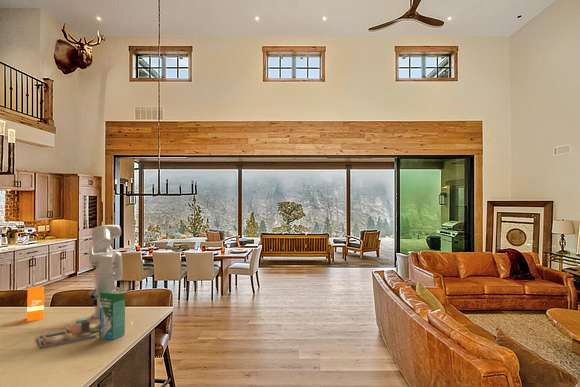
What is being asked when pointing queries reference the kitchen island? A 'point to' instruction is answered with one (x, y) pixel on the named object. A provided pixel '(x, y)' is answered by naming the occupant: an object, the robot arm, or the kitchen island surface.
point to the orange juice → (35, 303)
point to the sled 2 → (91, 328)
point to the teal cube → (81, 321)
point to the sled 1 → (68, 335)
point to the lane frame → (62, 341)
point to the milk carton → (112, 315)
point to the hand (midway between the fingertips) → (104, 304)
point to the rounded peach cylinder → (76, 329)
